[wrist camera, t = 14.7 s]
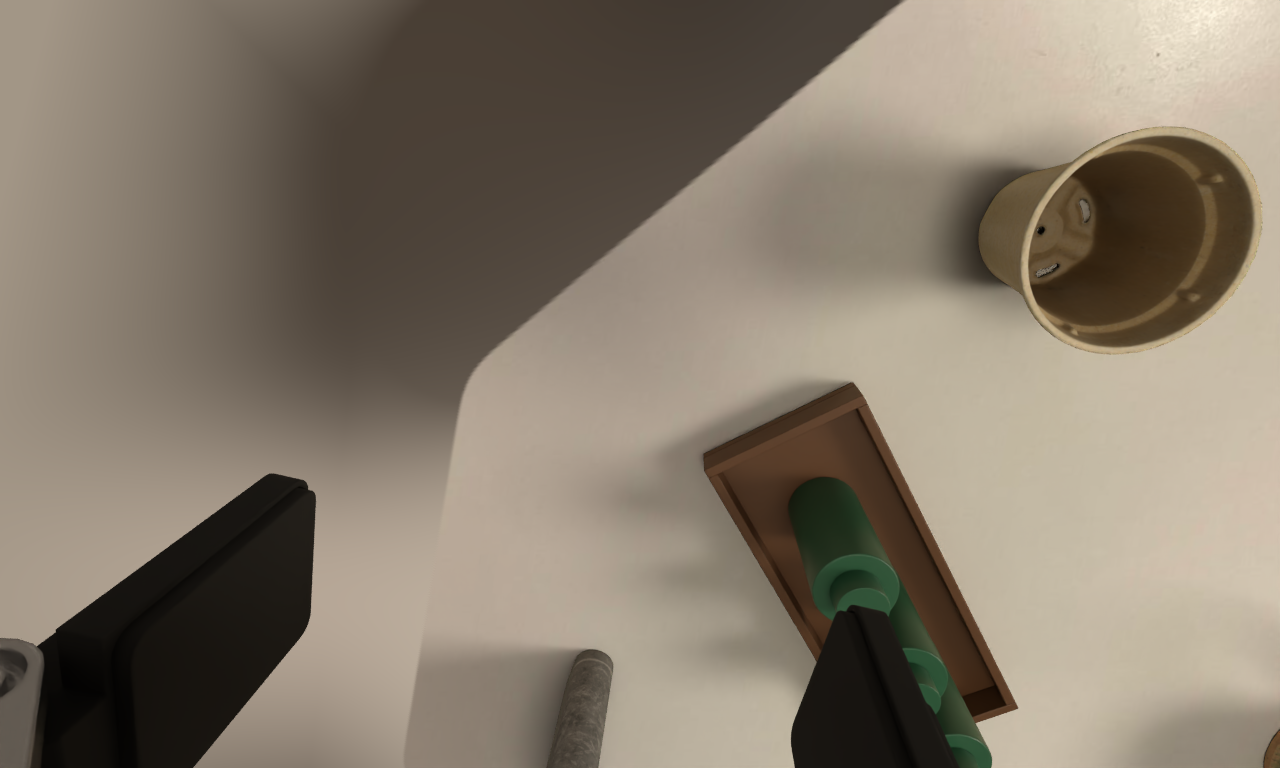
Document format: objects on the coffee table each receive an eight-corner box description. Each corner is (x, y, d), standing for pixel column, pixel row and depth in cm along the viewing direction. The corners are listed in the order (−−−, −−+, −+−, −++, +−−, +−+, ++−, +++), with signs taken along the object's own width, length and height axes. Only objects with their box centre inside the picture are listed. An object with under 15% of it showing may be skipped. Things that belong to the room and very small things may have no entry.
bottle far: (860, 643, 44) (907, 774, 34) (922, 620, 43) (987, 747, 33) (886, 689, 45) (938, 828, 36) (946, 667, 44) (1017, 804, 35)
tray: (703, 453, 41) (703, 470, 39) (852, 381, 39) (863, 395, 36) (865, 729, 47) (873, 758, 45) (1002, 681, 45) (1018, 708, 42)
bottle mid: (819, 571, 42) (857, 687, 33) (882, 545, 41) (940, 657, 32) (847, 620, 43) (891, 747, 34) (909, 596, 42) (972, 719, 33)
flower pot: (909, 234, 36) (974, 253, 27) (1053, 96, 33) (1173, 72, 25) (1017, 345, 37) (1110, 396, 29) (1163, 223, 34) (1310, 240, 26)
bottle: (776, 494, 41) (802, 593, 31) (840, 465, 40) (887, 558, 30) (806, 547, 42) (840, 658, 32) (869, 520, 41) (923, 626, 31)
